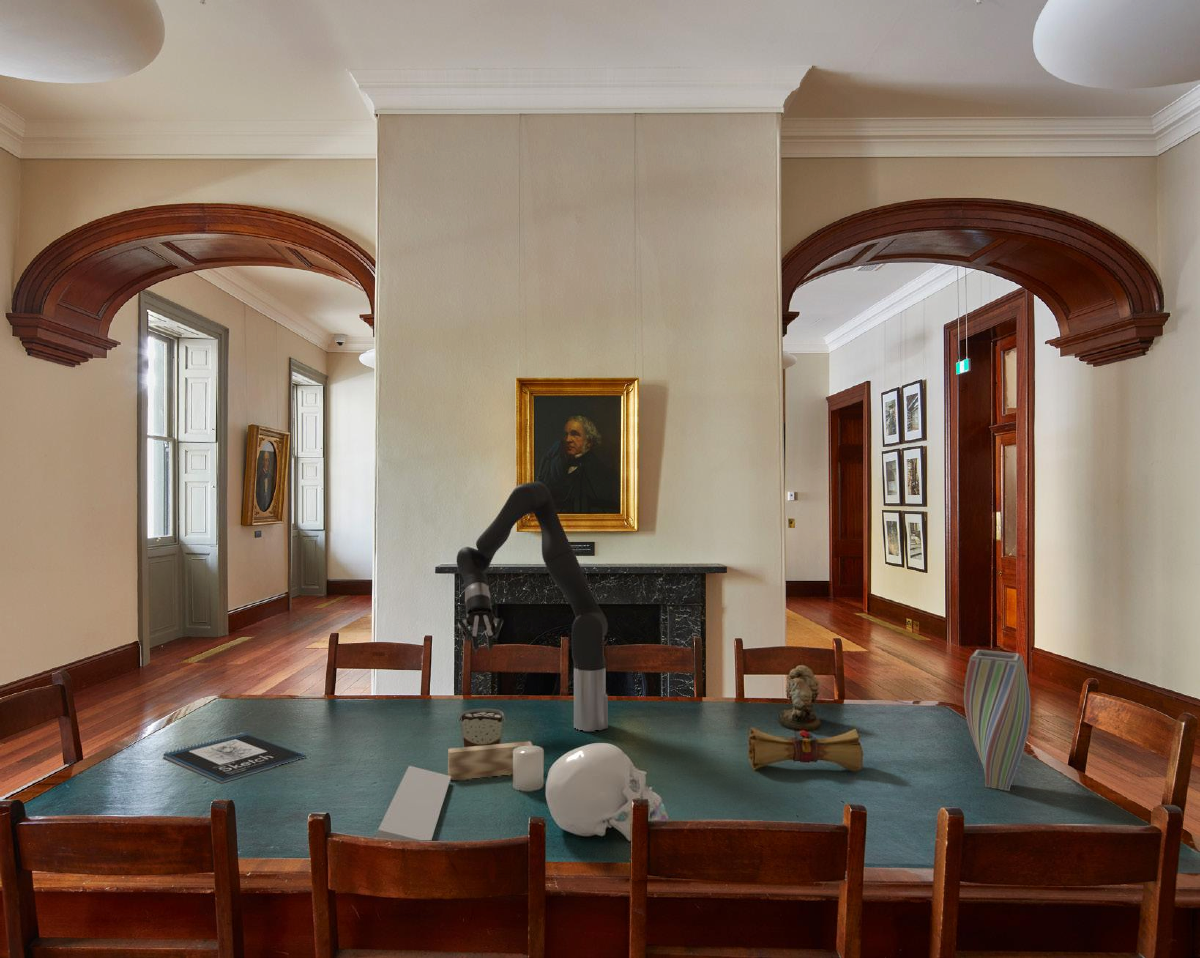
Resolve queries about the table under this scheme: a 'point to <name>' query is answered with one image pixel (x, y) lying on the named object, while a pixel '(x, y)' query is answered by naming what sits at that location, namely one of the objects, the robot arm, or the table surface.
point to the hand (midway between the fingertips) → (483, 649)
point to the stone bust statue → (801, 700)
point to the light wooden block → (482, 760)
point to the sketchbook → (232, 757)
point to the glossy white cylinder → (528, 768)
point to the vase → (997, 713)
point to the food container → (481, 727)
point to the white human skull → (597, 790)
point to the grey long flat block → (415, 806)
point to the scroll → (805, 749)
